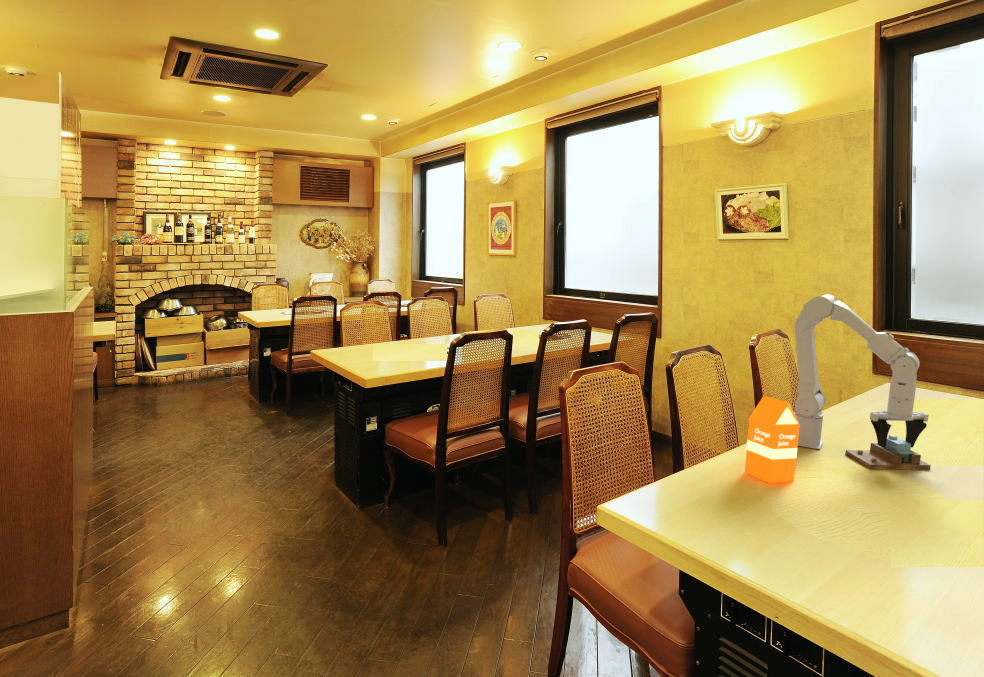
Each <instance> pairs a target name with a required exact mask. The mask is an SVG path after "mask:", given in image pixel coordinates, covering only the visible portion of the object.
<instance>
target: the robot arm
mask: <svg viewBox="0 0 984 677" xmlns="http://www.w3.org/2000/svg"><path fill="white" fill-rule="evenodd" d="M827 318H829V320H832V321H838V322H842V323H844V324H845V325H846V326H848V327H849V328H850V329H852V330H853V331H854V332H856V333H857V334H858V335H859V336H861V337H862V338H863V339H865V341H866V343H867V344H866V347H867V348H868V349H869V351H871V352H872V353H874V354H875V355H876V356H877V357H878V358H879V359H880V360H882V361H883V362H884V363H886V364H888V365H889V366H890V369H891V371H892V374H891V379H890V383H889V391H888V392H889V393H888V400H887V401H888V402H887V408H886V410H883V411H872V412H870V413H869V414H870V415H869V419H870V422H871V425H872V426H873V429H874V432H875V435H876V442H877V443H878V445H879V446H881V447H885V446H886V442H887V437H888V436H889V432H890V429H891V427H892V425H891V424H889V423H888V421H889V422H890V421H898V422H899V421H902V422H905V423H904V424H905V428H906V429H905V440H904V441H906V442H908V443H910V444H911V448H912V449H913V448H914V446H915V443H916V442H917V440H918V438H919V436H920V435H921V433H922V432H923V431H924V430H925V429H926V428H927V425H928V423H926V422H929V416H930V415H929V414H928V413H925V412H917V411H916V412H915V411H914V407H915V406H914V405H915V398H916V389H917V379H918V375H917V372H918V371H919V370H918V369H919V367H920V359H919V358H918V356H917V355H916V353H914V352H912V351H910V349H909V348H908V347H903V346H902V345H901V344H900V343H899V342H897V341H896V340H895V339H894V338H895V336H894V335H893V334H891V333H889V334H888V333H887V332H884V331H883V332H877V331H876V330H875V329H874V328H873V327H872V326H871V325H870V324H868V323H867V322H866V321H865V320H864V319H863V318H862V317H861V316H860V315H858V314H857V313H856V312H855V311H854V310H853V309H851V307H849V306H848V305H847V304H845V303H844V302H842V301H840V300H838V299H837V298H836V297H835V296H834V295H831V294H828V293H827V294H821V295H818V296H817V295H816V296H814V297H812V298H811V299H810V300H808V301H807V302H805V304H803V306H802V309H801V311H800V312H799V315H798V317H797V318H796V319H795V321H794V324H793V325H794V337H795V345H796V348H795V350H796V359H797V369H798V370H797V372H798V382H799V383H798V386H797V387H798V388H797V393H796V394H797V398H796V399H795V402H794V408H795V412H794V411H793V412H794V414H795V417H796V419H797V421H798V423H799V424H800V426H799V436H798V446H797V447H804V448H807V449H808V448H809V449H814V450H815V449H816V450H821V448H822V446H823V444H824V441H823V440H822V432H823V431H822V430H823V421H824V414H823V411H822V409H823V408H824V407H825V406H826V403H827V402H826V401H827V400H826V397H825V395H824V394H823V392H822V385H821V382H819V373H818V372H819V371H818V370H819V369H818V359H817V358H818V357H817V348H816V337H815V336H816V335H815V328H816V327H817V326H818V325H819V324H820V323H821V322H822V321H824V320H825V319H827ZM911 448H910V449H911Z"/></svg>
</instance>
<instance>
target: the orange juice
mask: <svg viewBox="0 0 984 677" xmlns="http://www.w3.org/2000/svg"><path fill="white" fill-rule="evenodd" d="M748 418H749V424H748V432H747V440H746V454H745V465H744V473H745V474H748V475H750V476H752V477H754V478H757V479H760V480H761V481H763V482H766V483H769V484H777V483H779V484H780V483H792V482H795V474H796V464H797V456H798V455H797V454H798V447H799V446H798V436H799V426H800V424H799V423H798V421H797V419H796V417H795V414H794V411H793V408H792V406H791V404H790V402H789V401H785V400H781V399H777V398H774V397H770V396H766V395H763V396H762V397H761V399H760V401H758V403H757V405H756V407H755V409H754V410H753V412H752V413H751V415H750V416H749V417H748Z"/></svg>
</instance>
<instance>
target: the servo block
mask: <svg viewBox="0 0 984 677" xmlns="http://www.w3.org/2000/svg"><path fill="white" fill-rule="evenodd" d="M884 448H885V449H887V450H889V451H891V452H893V453H895V454H902V462H909V455H910V454H913V453H914V452H915V451H914V452H912V451H913V450H912V451H910V450H911V444H910V443H908V442H906V441H905V440H904V439H901V438H900V437H898V435H897V434H888V436H887V442H886V446H885V447H884Z"/></svg>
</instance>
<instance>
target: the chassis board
mask: <svg viewBox="0 0 984 677" xmlns="http://www.w3.org/2000/svg"><path fill="white" fill-rule="evenodd" d="M910 451H912V452H914V453H913V454H910V455H909V462H902V454H895V453H893V452H891V451H889V450H887V449H885V448H884V447H881V446H879V445H878V442H870V447H869V450H861V449H856V450H854V449H853V450H850V449H849V450H848V449H847V450H845V455H846V456H848V457H849V458H851V459H852V460H854V461H855V462H858V463H859V464H861V465H862V466H864V467H866V468H868V469H869V470H931V468H932V466H931V464H930V463H928V462H925V461H923V460H921V458H922V455H921V454H920V453H918V452H915V451H913V450H911V449H910Z"/></svg>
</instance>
